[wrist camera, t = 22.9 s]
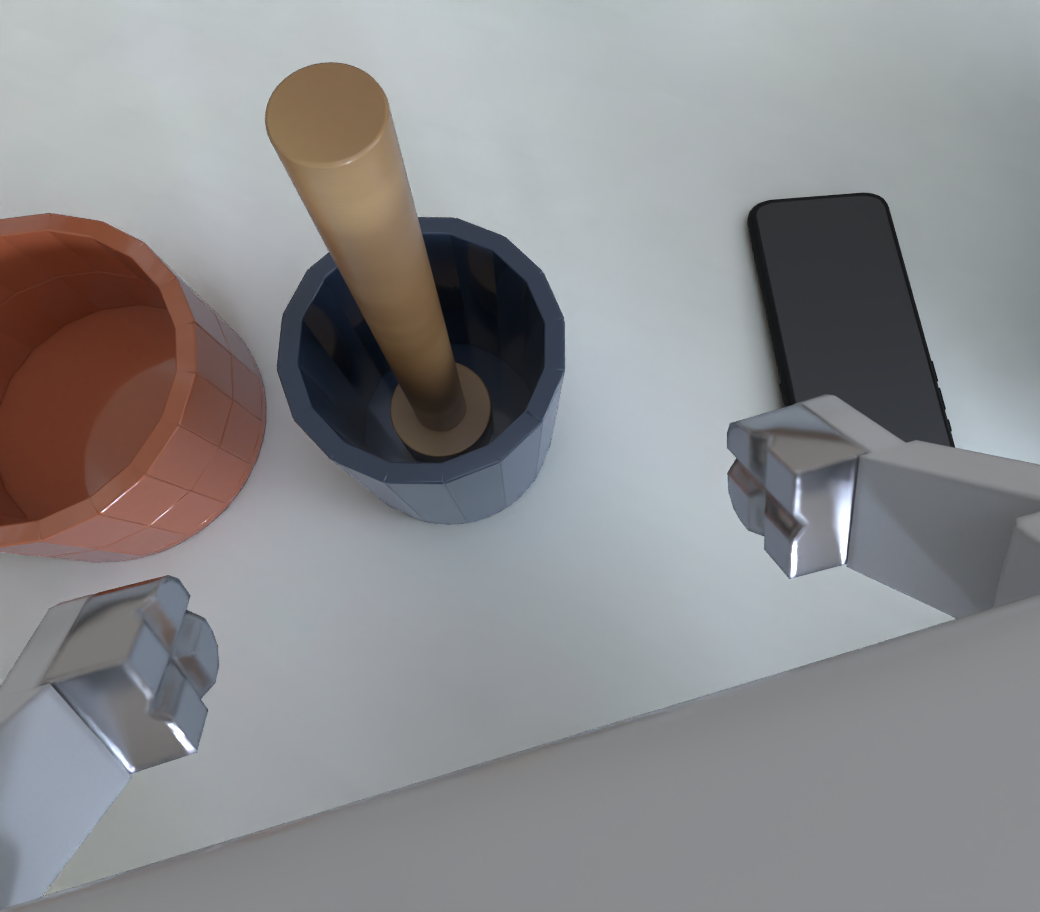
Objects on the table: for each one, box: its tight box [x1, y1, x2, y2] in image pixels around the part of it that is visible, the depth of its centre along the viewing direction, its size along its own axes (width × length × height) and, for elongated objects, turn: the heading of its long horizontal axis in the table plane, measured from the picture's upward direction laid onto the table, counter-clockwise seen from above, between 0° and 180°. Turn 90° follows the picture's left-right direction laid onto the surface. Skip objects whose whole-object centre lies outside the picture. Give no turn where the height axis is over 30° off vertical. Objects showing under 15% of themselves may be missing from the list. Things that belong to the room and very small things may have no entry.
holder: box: [277, 217, 565, 525], centre depth 26 cm, size 9×9×10 cm
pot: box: [0, 213, 266, 563], centre depth 27 cm, size 13×13×7 cm
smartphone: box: [748, 193, 955, 448], centre depth 31 cm, size 7×1×15 cm
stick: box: [265, 62, 493, 463], centre depth 21 cm, size 4×4×19 cm
